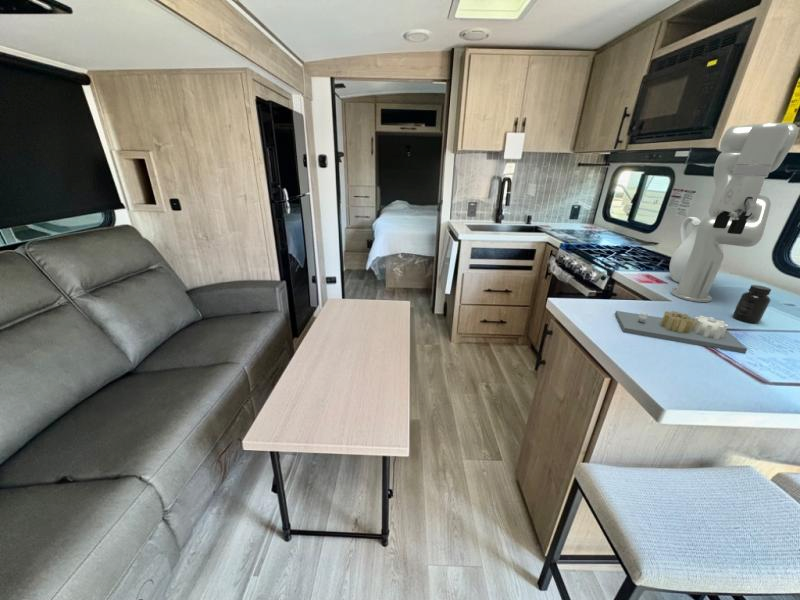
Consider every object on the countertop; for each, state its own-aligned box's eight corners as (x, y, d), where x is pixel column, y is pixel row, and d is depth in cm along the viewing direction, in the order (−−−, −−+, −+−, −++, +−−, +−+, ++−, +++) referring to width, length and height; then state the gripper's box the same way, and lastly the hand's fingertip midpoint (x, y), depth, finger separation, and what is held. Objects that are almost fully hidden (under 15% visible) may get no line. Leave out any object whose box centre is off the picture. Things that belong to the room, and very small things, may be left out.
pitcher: (721, 290, 140) (750, 224, 129) (677, 287, 142) (702, 222, 131) (686, 272, 161) (709, 215, 150) (649, 270, 164) (668, 213, 153)
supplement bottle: (764, 325, 110) (782, 292, 105) (741, 322, 111) (757, 290, 106) (749, 316, 116) (764, 284, 111) (726, 314, 117) (741, 282, 112)
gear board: (614, 314, 115) (619, 298, 112) (722, 331, 105) (730, 314, 102) (623, 332, 103) (628, 314, 100) (745, 353, 93) (754, 334, 90)
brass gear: (657, 320, 108) (661, 309, 106) (684, 324, 105) (689, 313, 104) (664, 330, 101) (668, 318, 100) (693, 335, 99) (699, 323, 97)
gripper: (720, 170, 103) (699, 225, 110) (750, 171, 89) (724, 234, 95) (751, 171, 101) (727, 227, 108) (787, 173, 86) (757, 237, 93)
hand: (726, 230), depth 102 cm, fingers open, 9 cm apart
